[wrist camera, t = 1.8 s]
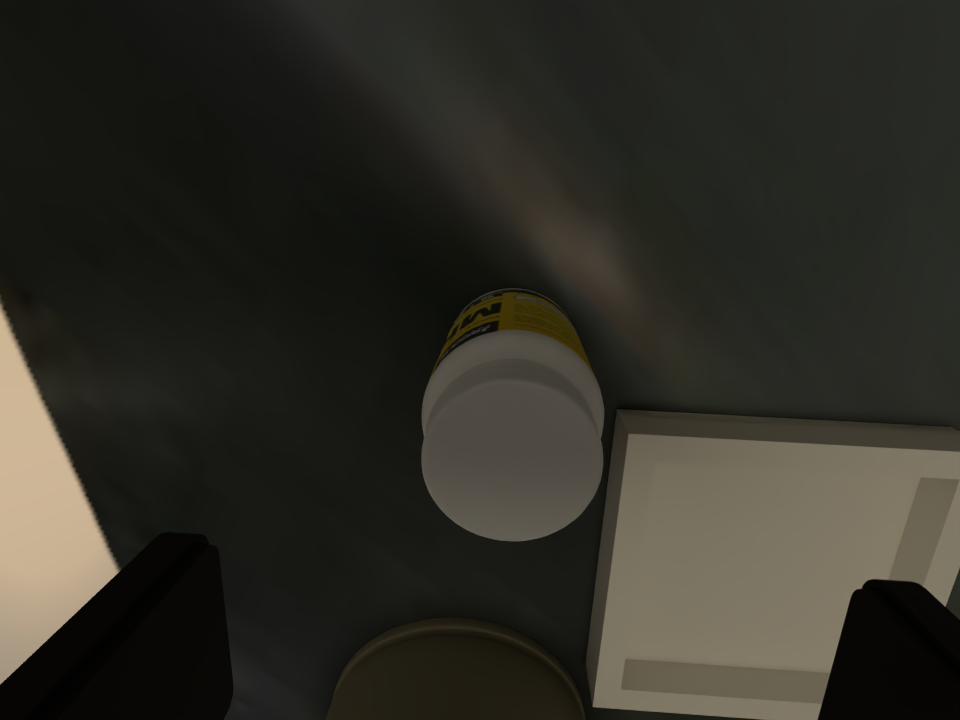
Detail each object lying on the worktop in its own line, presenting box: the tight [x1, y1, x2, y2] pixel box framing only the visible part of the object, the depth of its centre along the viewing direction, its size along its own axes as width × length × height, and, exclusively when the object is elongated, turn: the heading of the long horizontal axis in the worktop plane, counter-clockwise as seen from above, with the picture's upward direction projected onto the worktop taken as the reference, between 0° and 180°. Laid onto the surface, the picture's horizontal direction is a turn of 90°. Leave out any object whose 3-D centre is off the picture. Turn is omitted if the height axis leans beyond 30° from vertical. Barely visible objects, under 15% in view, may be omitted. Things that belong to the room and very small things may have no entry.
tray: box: [586, 409, 960, 720], centre depth 21 cm, size 12×12×2 cm
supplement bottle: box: [421, 288, 604, 541], centre depth 16 cm, size 5×5×8 cm
